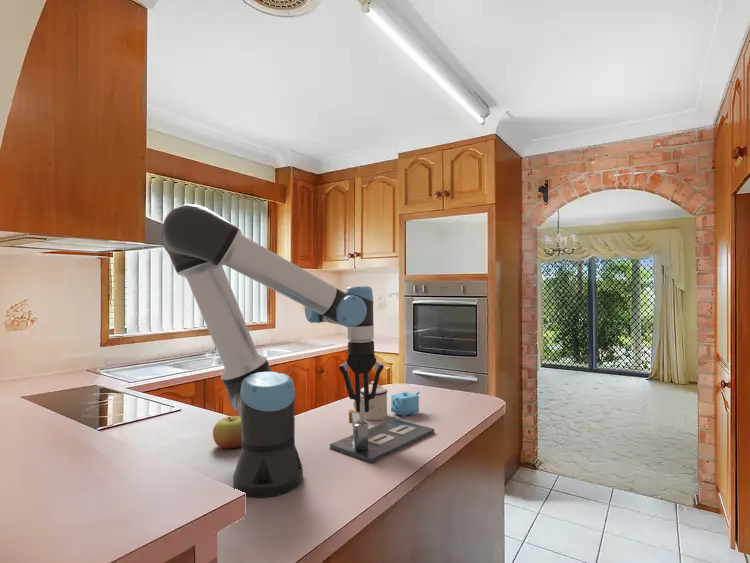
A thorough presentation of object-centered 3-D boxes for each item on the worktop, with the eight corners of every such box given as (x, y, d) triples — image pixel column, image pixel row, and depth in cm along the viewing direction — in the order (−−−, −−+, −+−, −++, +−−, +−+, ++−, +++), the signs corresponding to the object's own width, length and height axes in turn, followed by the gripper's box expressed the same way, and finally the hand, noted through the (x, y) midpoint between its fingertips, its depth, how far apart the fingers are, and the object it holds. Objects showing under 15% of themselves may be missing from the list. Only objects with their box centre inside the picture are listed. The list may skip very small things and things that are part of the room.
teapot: (414, 408, 151) (414, 387, 151) (426, 412, 146) (426, 390, 146) (387, 414, 144) (387, 392, 144) (398, 419, 139) (398, 396, 139)
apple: (213, 441, 121) (212, 413, 121) (248, 437, 124) (248, 409, 124) (212, 454, 111) (212, 424, 112) (251, 449, 115) (251, 419, 115)
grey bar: (369, 449, 110) (369, 426, 110) (353, 450, 109) (353, 427, 109) (360, 426, 128) (360, 406, 128) (347, 427, 127) (347, 407, 127)
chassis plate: (371, 463, 105) (371, 456, 105) (330, 448, 115) (329, 442, 115) (434, 432, 126) (434, 427, 126) (394, 422, 136) (394, 417, 136)
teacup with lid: (379, 411, 148) (379, 377, 148) (392, 418, 140) (392, 382, 140) (348, 416, 143) (347, 381, 143) (360, 424, 135) (359, 387, 135)
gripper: (383, 338, 125) (385, 418, 125) (340, 339, 126) (342, 419, 126) (382, 341, 117) (385, 427, 117) (336, 342, 118) (338, 428, 118)
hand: (363, 423), depth 121 cm, fingers closed
